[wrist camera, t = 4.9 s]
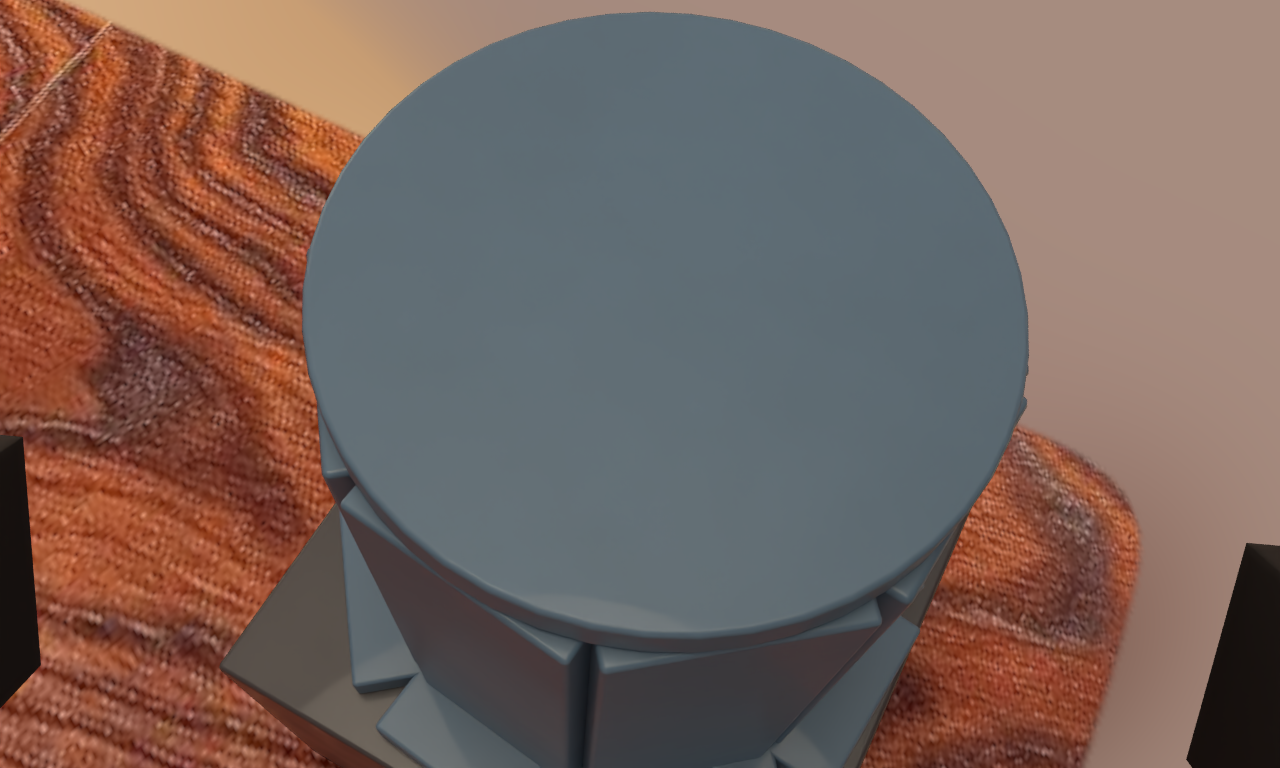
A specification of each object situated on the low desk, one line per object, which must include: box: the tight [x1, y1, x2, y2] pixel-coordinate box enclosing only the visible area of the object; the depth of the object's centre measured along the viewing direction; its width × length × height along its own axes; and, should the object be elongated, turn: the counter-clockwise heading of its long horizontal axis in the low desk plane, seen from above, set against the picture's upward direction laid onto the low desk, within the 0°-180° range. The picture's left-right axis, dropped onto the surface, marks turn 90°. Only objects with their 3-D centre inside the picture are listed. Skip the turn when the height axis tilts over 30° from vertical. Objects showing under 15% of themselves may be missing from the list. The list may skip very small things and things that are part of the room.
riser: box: [219, 503, 971, 768], centre depth 24 cm, size 10×10×8 cm
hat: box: [302, 12, 1029, 768], centre depth 16 cm, size 10×10×9 cm
